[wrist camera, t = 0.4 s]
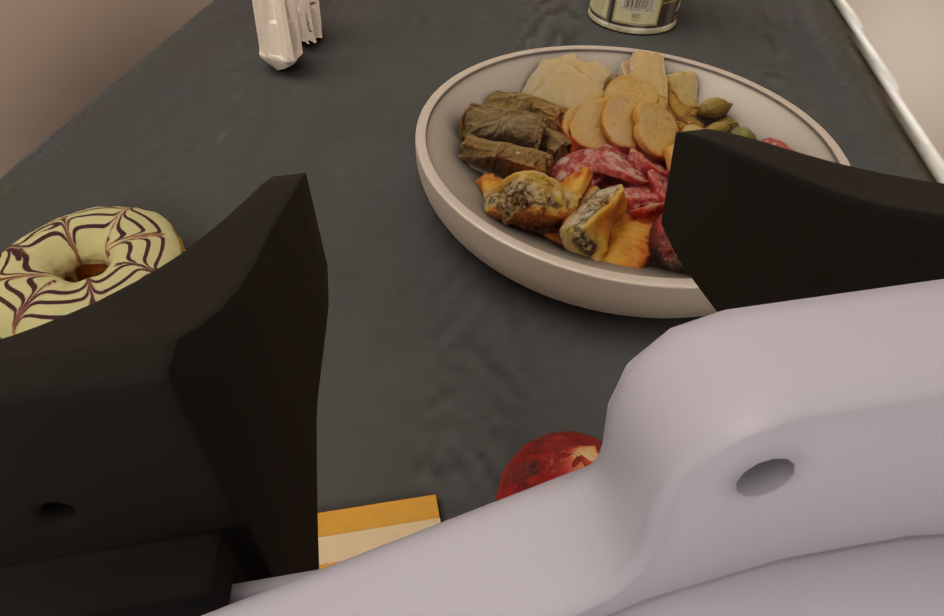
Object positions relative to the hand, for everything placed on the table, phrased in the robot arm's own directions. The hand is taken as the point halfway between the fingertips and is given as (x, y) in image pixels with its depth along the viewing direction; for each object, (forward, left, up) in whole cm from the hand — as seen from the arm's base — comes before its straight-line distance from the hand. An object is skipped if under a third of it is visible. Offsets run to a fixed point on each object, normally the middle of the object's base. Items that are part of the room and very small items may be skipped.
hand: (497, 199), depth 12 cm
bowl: (+26, -16, -20) cm, 37 cm away
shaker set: (+53, +8, -20) cm, 57 cm away
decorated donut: (+20, +19, -20) cm, 34 cm away
